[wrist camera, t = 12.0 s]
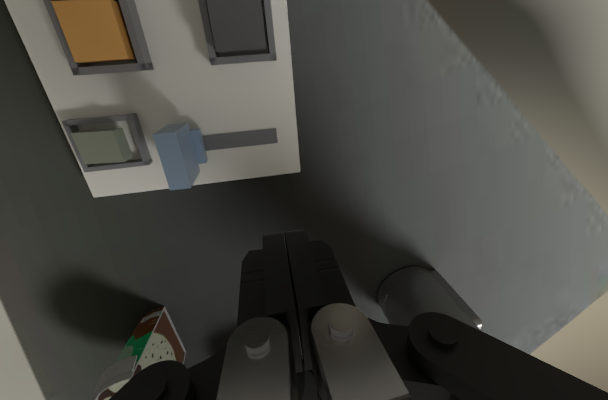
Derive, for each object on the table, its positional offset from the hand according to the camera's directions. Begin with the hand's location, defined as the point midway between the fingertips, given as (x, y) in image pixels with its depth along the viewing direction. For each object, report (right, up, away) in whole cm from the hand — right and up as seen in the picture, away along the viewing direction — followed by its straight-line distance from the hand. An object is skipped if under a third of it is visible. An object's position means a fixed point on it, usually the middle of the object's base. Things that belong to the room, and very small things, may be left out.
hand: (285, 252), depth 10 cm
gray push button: (-4, +15, +11) cm, 19 cm away
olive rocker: (-16, +7, +14) cm, 22 cm away
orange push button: (-14, +15, +11) cm, 23 cm away
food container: (-20, -17, +28) cm, 38 cm away
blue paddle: (-10, +7, +15) cm, 19 cm away
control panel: (-11, +13, +16) cm, 23 cm away
